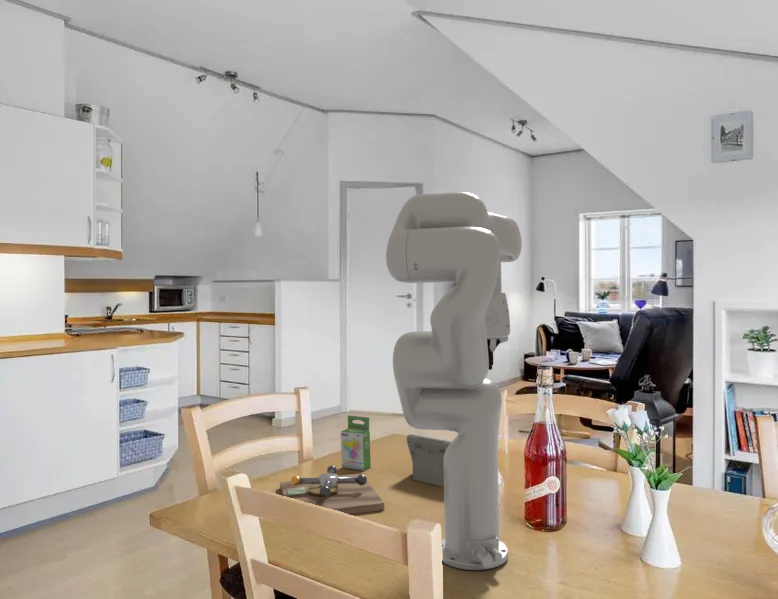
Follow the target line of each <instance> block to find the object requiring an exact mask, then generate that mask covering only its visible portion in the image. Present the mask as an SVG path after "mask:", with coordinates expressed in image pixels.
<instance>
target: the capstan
mask: <svg viewBox="0 0 778 599" xmlns="http://www.w3.org/2000/svg"><path fill="white" fill-rule="evenodd" d="M337 472H338V468H337V467H336V466H335V465H329V466H328V467H327V468H326V473H322V474H319V475H318V477H300V476H299V475H294V476H291V478H290V481H291V485H292V486H294V487H297V486H299V485H300V484H310V485H309V486H308V492H309V493H310V494H312V495H318V496H322V497H324V498H326V497H328V496H329V495H331V494H334V493H337V492H338V491H339V484H344V483H358V484H359V485H365V484H366V482H368V479H367V476H366V475H365V474H362V473H361V475H359V476H358V477H338V476H339V474H337Z"/></svg>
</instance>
